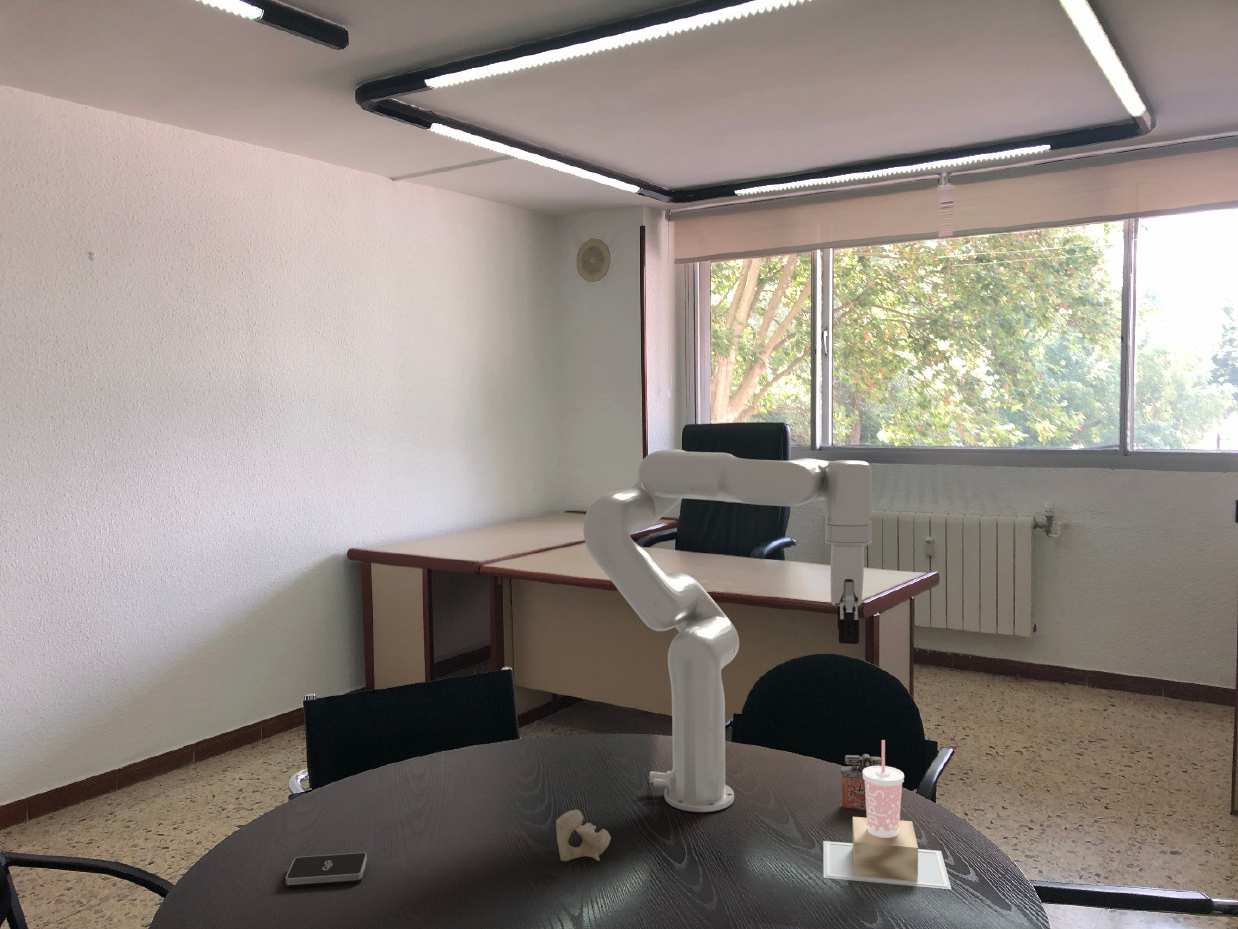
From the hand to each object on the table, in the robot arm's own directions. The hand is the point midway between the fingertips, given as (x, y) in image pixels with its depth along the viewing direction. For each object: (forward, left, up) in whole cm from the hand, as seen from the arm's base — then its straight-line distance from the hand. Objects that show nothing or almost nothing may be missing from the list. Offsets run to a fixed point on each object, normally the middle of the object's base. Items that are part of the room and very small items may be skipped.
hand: (847, 636), depth 156 cm
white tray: (+5, -15, -32) cm, 36 cm away
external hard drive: (-78, -33, -33) cm, 91 cm away
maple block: (+5, -15, -31) cm, 35 cm away
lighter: (+3, +6, -32) cm, 33 cm away
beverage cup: (+5, -15, -26) cm, 31 cm away
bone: (-41, -19, -33) cm, 56 cm away
